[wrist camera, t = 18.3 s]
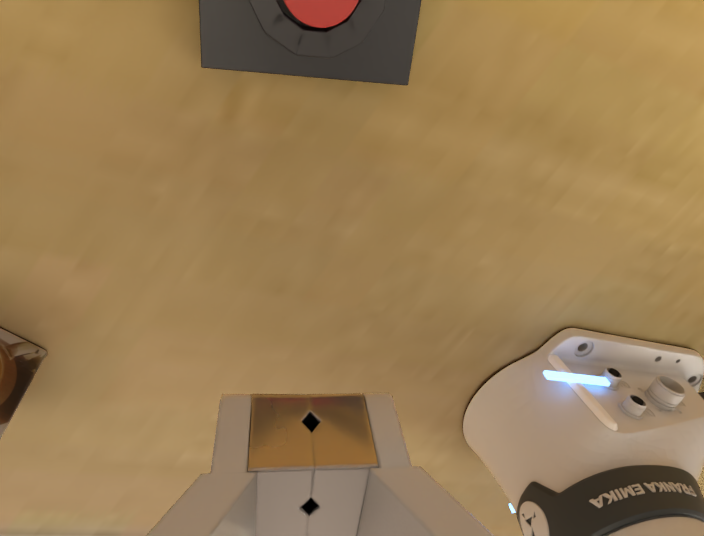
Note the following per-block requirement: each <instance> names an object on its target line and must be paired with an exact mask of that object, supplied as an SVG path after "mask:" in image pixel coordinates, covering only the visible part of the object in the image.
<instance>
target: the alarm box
mask: <svg viewBox="0 0 704 536" xmlns="http://www.w3.org/2000/svg"><path fill="white" fill-rule="evenodd" d="M420 6H421V0H358V3H357V5H356V7H355V9H354V10H353V11H352V13H351V14H350V15H349V16H348V17H347V18H346V19H345V20H344V21H342V22H341V23H339V24H337V25H335V26H331V27H327V28H317V27H312V26H309V25H307V24H305V23H303V22H301V21H300V20H298V19H297V18H296V17H295V16H294V15H293V14H292V13H291V12H290V10H289V9H288V7H287V6H286V4H285V2H284V0H199V15H200V41H201V66H202V67H203V68H213V69H225V70H236V71H248V72H259V73H270V74H282V75H293V76H305V77H316V78H328V79H339V80H350V81H362V82H373V83H385V84H396V85H408V81H409V75H410V69H411V62H412V56H413V50H414V43H415V37H416V31H417V25H418V18H419V12H420Z"/></svg>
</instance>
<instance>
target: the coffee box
mask: <svg viewBox="0 0 704 536" xmlns="http://www.w3.org/2000/svg"><path fill="white" fill-rule="evenodd" d="M46 355H47V351H46V350H44V349H42V348H40V347H38V346H36V345H34V344H32V343H30V342H28V341H26V340H24V339H22V338H20V337H17V336H15V335H13V334H11V333H9V332H7V331H5V330H3V329H1V328H0V439H1V437H2V435H3V433H4V431H5V429H6V428H7V426H8V424H9V422H10V420H11V419H12V417H13V415H14V413H15V411H16V409H17V408H18V406H19V404H20V402H21V400H22V398H23V396H24V394H25V393H26V391H27V389H28V387H29V385H30V383H31V381H32V379H33V377H34V376H35V374H36V372H37V370H38V368H39V367H40V365H41V363H42V361H43V360H44V358H45V357H46Z"/></svg>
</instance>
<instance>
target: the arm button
mask: <svg viewBox="0 0 704 536" xmlns="http://www.w3.org/2000/svg"><path fill="white" fill-rule="evenodd" d="M284 2H285V4H286V6H287V7H288V9H289V10H290V12H291V13H292V14H293V15H294V16H295V17H296V18H297V19H298V20H300V21H301V22H303V23H305V24H307V25H309V26H312V27H317V28H327V27H331V26H335V25H337V24H339V23H341V22H342V21H344V20H345V19H346V18H347V17H348V16H349V15H350V14H351V13H352V11H353V10H354V9H355V7H356V5H357V3H358V0H284Z"/></svg>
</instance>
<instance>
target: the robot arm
mask: <svg viewBox="0 0 704 536" xmlns="http://www.w3.org/2000/svg"><path fill="white" fill-rule="evenodd" d="M703 373H704V362H703V358H702V357H701V356H700V355H699V354H698V352H697V351H695V350H692V349H687V348H682V347H677V346H671V345H666V344H660V343H655V342H649V341H643V340H638V339H632V338H627V337H621V336H616V335H610V334H605V333H599V332H594V331H588V330H583V329H577V328H568V329H565V330H562V331H561V332H559V333H558V334H556V335H555V336H554V337H552V338H551V339H550V340H549V341H548V342H546V343H545V344H544V345H543V346H542V347H541V348H540V349H539V350H537V351H536V352H534V353H533V354H531V355H529V356H527V357H525V358H523V359H521V360H519V361H517V362H514V363H513V364H511V365H509V366H507V367H506V368H504V369H503V370H501V371H500V372H498V373H497V374H496V375H494V376H493V377H492V378H491V379H489V380H488V381H487V382H486V383H485V384H484V385H483V386H482V387H481V388H480V389H479V391H478V392H477V393H476V394H475V396H474V397H473V399H472V400H471V402H470V404H469V406H468V408H467V410H466V413H465V416H464V421H463V434H464V438H465V440H466V442H467V444H468V445H469V447H470V448H471V449H472V450H473V451H474V452H475V453H476V454H477V456H478V457H479V458H480V459H481V460H482V462H483V463H484V464H485V465H486V467H487V468H488V469H489V471H490V472H491V473H492V475H493V476H494V478H495V479H496V481H497V482H498V484H499V485H500V487H501V488H502V490H503V492H504V493H505V495H506V496H507V498H508V500H509V501H510V504H509V507H510V509H511V512H512V513H516V514H517V518H518V521H519V524H520V527H521V530H522V533H523V535H524V536H704V498H703V495H702V493H701V490H700V488H699V486H698V483H697V482H698V479H699V476H700V474H701V471H702V469H703V466H704V392H701V393H698V391H699V388H700V385H701V383H702V379H703ZM146 536H494V535H493V534H492V533H491V532H490V531H489V530H487V529H486V528H485V527H484V526H483V525H482V524H481V523H480V522H479V521H478V520H477V519H476V518H475V517H474V516H473V515H471V514H470V513H469V512H468V511H467V510H466V509H465V508H464V507H463V506H462V505H461V504H460V503H459V502H458V501H457V500H455V499H454V498H453V497H452V496H451V495H450V494H449V493H448V492H447V491H446V490H445V489H444V488H443V487H442V486H441V485H440V484H438V483H437V482H436V481H435V480H434V479H433V478H432V477H431V476H430V475H429V474H428V473H427V472H426V471H425V470H424V469H422V468H421V467H412V465H411V461H410V457H409V454H408V450H407V447H406V443H405V440H404V436H403V432H402V429H401V425H400V422H399V418H398V415H397V411H396V408H395V404H394V400H393V397H392V396H391V394H390V393H362V394H361V393H353V394H307V395H298V394H252V395H251V394H222V397H221V400H220V405H219V412H218V420H217V428H216V435H215V443H214V450H213V458H212V465H211V473H209V474H201V475H200V476H199V477H198V478H197V479H196V480H195V481H194V482H193V484H192V485H191V486H190V487H189V488H188V489H187V490H186V491H185V492H184V494H183V495H182V496H181V497H180V498H179V499H178V500H177V501H176V503H175V504H174V505H173V506H172V507H171V508H170V509H169V510H168V512H167V513H166V514H165V515H164V516H163V517H162V518H161V519H160V521H159V522H158V523H157V524H156V525H155V526H154V527H153V528H152V529H151V531H150V532H149V533H148V534H147V535H146Z"/></svg>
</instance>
